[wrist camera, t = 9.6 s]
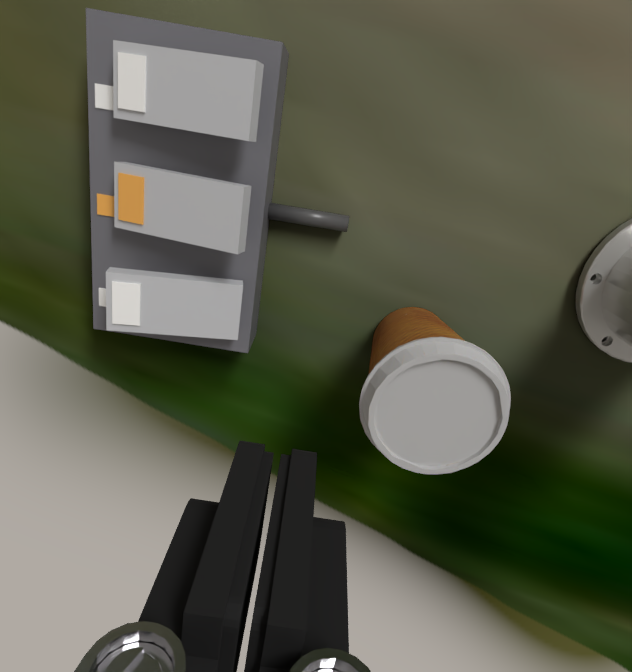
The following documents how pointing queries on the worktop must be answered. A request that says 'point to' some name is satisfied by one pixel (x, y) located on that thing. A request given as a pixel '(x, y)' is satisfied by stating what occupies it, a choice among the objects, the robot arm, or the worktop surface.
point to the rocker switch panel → (185, 168)
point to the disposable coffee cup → (431, 395)
